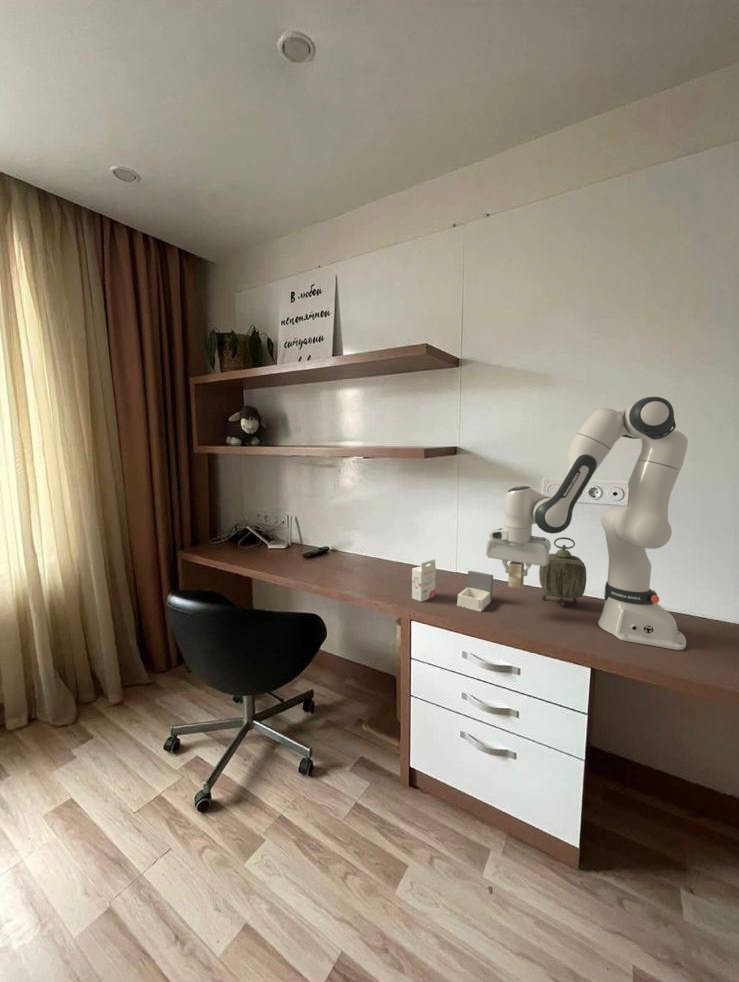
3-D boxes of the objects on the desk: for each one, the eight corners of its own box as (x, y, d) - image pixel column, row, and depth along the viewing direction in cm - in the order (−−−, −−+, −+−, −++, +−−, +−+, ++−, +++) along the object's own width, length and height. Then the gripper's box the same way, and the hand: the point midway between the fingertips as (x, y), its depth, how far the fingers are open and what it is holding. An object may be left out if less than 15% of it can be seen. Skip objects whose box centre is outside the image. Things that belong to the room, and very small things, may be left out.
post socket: (492, 600, 146) (493, 575, 145) (481, 611, 137) (482, 584, 136) (468, 595, 152) (469, 570, 150) (456, 605, 142) (457, 578, 141)
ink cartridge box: (425, 592, 154) (426, 556, 152) (435, 596, 150) (436, 559, 149) (410, 598, 148) (411, 560, 147) (421, 602, 145) (422, 563, 143)
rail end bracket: (523, 584, 135) (524, 562, 134) (520, 588, 131) (521, 565, 130) (511, 582, 137) (512, 560, 136) (508, 586, 134) (508, 563, 133)
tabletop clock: (579, 601, 146) (583, 536, 144) (585, 611, 138) (590, 542, 135) (537, 597, 150) (541, 533, 147) (541, 606, 142) (545, 539, 139)
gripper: (552, 536, 129) (550, 577, 130) (490, 529, 140) (489, 566, 142) (548, 540, 124) (547, 582, 125) (485, 532, 135) (484, 571, 137)
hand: (516, 574), depth 134 cm, fingers closed on rail end bracket, 4 cm apart
